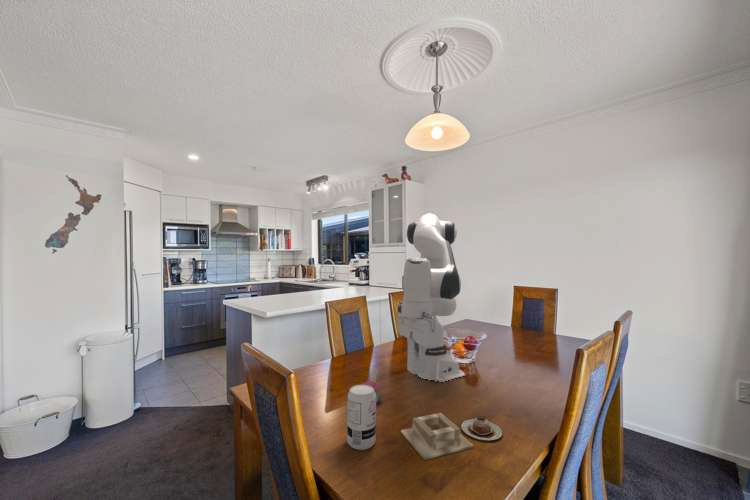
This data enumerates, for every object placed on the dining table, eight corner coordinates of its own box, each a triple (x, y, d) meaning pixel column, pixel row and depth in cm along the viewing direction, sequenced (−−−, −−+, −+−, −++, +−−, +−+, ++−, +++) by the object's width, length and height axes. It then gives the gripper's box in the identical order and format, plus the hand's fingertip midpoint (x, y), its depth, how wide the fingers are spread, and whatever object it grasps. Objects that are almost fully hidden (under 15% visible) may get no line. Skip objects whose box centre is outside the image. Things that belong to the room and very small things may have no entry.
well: (445, 422, 98) (445, 408, 99) (473, 447, 85) (473, 430, 85) (400, 432, 93) (400, 416, 93) (423, 460, 80) (423, 442, 80)
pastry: (511, 440, 90) (510, 424, 90) (476, 447, 86) (476, 430, 86) (485, 420, 101) (485, 406, 101) (453, 425, 98) (453, 410, 98)
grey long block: (418, 368, 95) (419, 329, 96) (425, 372, 91) (425, 332, 92) (407, 369, 94) (407, 330, 94) (413, 374, 90) (413, 333, 91)
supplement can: (347, 435, 91) (347, 384, 91) (374, 434, 92) (374, 383, 92) (346, 451, 83) (347, 395, 83) (376, 450, 83) (377, 395, 84)
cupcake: (385, 397, 116) (386, 366, 117) (379, 407, 108) (379, 373, 109) (365, 394, 119) (365, 363, 120) (356, 403, 111) (357, 370, 112)
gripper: (444, 315, 85) (444, 365, 84) (411, 305, 104) (411, 346, 103) (424, 316, 83) (424, 367, 82) (394, 306, 102) (394, 347, 101)
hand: (416, 355), depth 93 cm, fingers closed on grey long block, 4 cm apart
